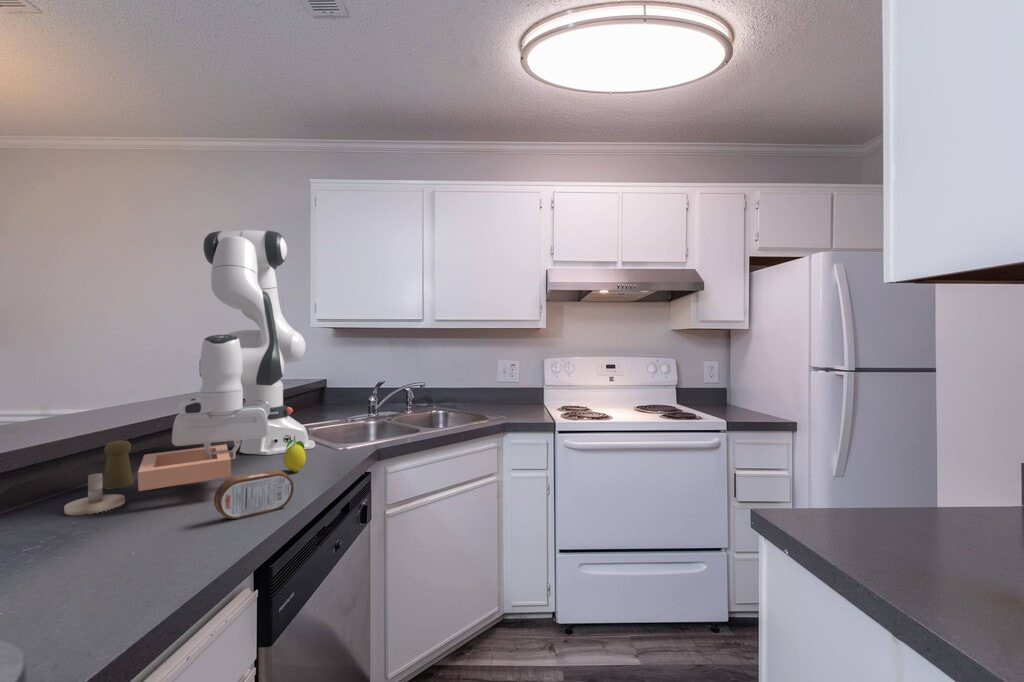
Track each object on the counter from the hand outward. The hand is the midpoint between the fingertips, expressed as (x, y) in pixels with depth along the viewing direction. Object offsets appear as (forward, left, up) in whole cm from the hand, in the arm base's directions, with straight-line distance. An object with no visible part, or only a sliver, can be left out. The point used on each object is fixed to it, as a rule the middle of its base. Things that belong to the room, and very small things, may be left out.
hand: (222, 459), depth 120 cm
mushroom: (+24, 0, -7) cm, 25 cm away
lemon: (-17, -8, -7) cm, 20 cm away
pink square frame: (+7, 0, -2) cm, 8 cm away
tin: (-5, +22, -8) cm, 24 cm away
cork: (+22, -17, -7) cm, 28 cm away
